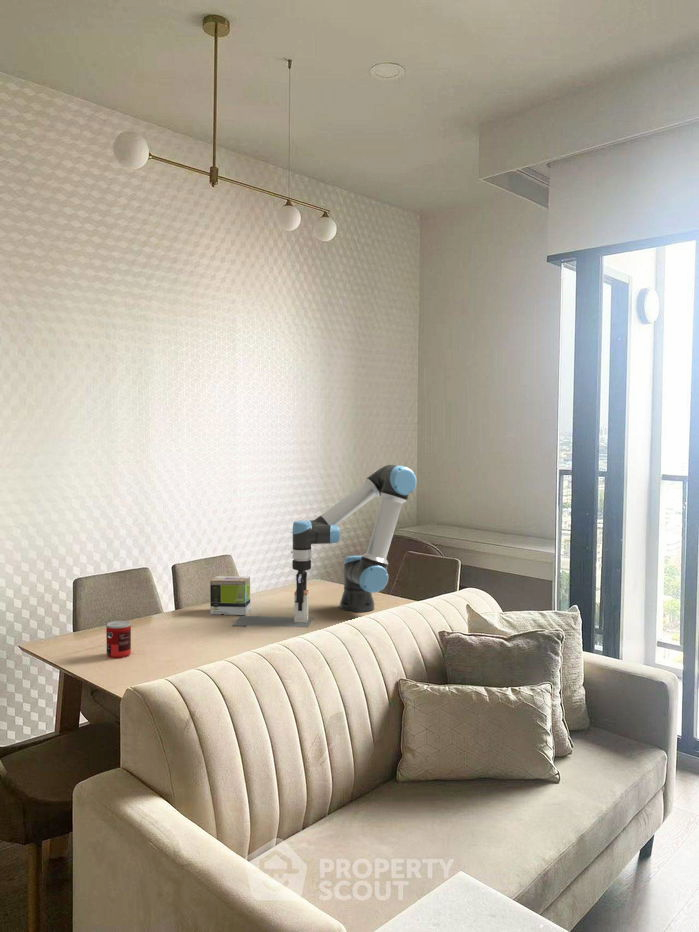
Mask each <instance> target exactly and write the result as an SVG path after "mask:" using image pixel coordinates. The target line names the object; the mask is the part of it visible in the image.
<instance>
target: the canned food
mask: <svg viewBox="0 0 699 932" xmlns="http://www.w3.org/2000/svg"><path fill="white" fill-rule="evenodd" d="M105 630H106V631H105V632H106V637H105V638H106V639H105V640H106V656H107V658H109V657H110V659H123V657H125V658H128V657H129V656H130V655H131V653H132V650H131V649H132V643H131V642H132V638H131V637H132V633H131V632H132V626H131V622H130V621H127V620H115V621H109V622H107V624H106V629H105ZM127 656H128V657H127Z"/></svg>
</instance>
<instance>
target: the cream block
mask: <svg viewBox="0 0 699 932" xmlns="http://www.w3.org/2000/svg"><path fill="white" fill-rule="evenodd" d="M309 593H310V592H309V589H307V590H304V599H303V601H304V619H297V603H295V601H296V590H295V591H294V598H293V599H294V601H293V602H294V606H293V607H294V610H293V611H294V612H293V613H294V614H293V615H294V622H304V623H307V621H308V618H309V599H310V598H309Z"/></svg>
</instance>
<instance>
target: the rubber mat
mask: <svg viewBox="0 0 699 932" xmlns="http://www.w3.org/2000/svg"><path fill="white" fill-rule="evenodd" d="M313 619H314V618H313V617H308V621H307V623H304V622H294V617H292V616H261V615H239V616H238V618H237V620H235V621H234V623H233V624H232V627H246V626H247V627H249V626H253V627H255V626H256V627H283V628H285V627H290V628H292V627H293V628H309V626H310V625H311V623H312V621H313Z"/></svg>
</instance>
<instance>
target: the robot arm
mask: <svg viewBox="0 0 699 932" xmlns="http://www.w3.org/2000/svg"><path fill="white" fill-rule="evenodd" d="M417 481H418V479H417V476H416V474H415V473H414V471H413V470H412V469H411V468H409V467H408V466H404V465H396V464H395V465H394V464H386V465H385V466H382V467H381V468H379V469H378V470H376V471H375V472H373V473H372V474H370V475H369V476H368V477H366V478H365V479H364V483H362V484H361V485H360V486H358V487H357V488H356V489H354V490H352V491H351V492H350V493H349V494H348V495H346V496H344V497H343V498H342V499H341V500H340V501H338V502H337V503H335V504H334V505H332V506H331V507H330V508H328V509H327V510H325V512H323V513H322V514H321V515H319V516H317V517H316V518H315V519H311V520H296V521H294V522H293V524H292V532H291V534H292V550H291V551H290V553H291V554H292V559H293V560H292V562H291V563H292V565H291V566H292V570H293V571H297V573H296V575H295V576H296V577H295V578H296V579H295V582H296V590H295V591H296V601H295V603H297V619H304V601H303V599H304V590H308V589H307V584H308V583H307V581H308V579H307V578H308V572H307V571H309V570H311V568H312V560H311V559H312V545H322V544H324V545H326V544H337V543H339V542H340V539H341V529H340V527H339V524H340V523H342V522H343V521H344V520H346V519H347V518H348V517H350V516H351V515H352V514H354V513H355V512H357V510H359V509H361V508H362V507H363V506H364V505H366V504H367V503H369V502H370V501H371V500H372V499H374V498H376V497H377V498H379V497H380V496H381V497H382V500H381V503H380V507H379V510H378V513H377V516H376V520H375V523H374V526H373V530H372V533H371V536H370V540H369V544H368V547H367V550H366V553H364V554H362V555H349V556H345V558H344V561H343V562H344V563H343V593H342V594H341V599H340V602H339V609H340V610H341V611H347V612H353V613H366V612H371V611H373V610H375V601H374V600H375V599H374V597H373V594H374V593H375V594H376V593H379V592H381V591H382V590H384V589H385V588H386V586H387V585H388V583H389V574H388V571H387V570H388V566H389V561H388V559H387V558H388V553H389V550H390V547H391V543H392V540H393V537H394V533H395V529H396V527H397V524H398V523H397V522H398V519H399V516H400V513H401V510H402V507H403V504H404V503H406V502H408V499H409V495H410V494H412V493H413V492H414V491H415V489H416V488H417V483H418V482H417Z"/></svg>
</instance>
